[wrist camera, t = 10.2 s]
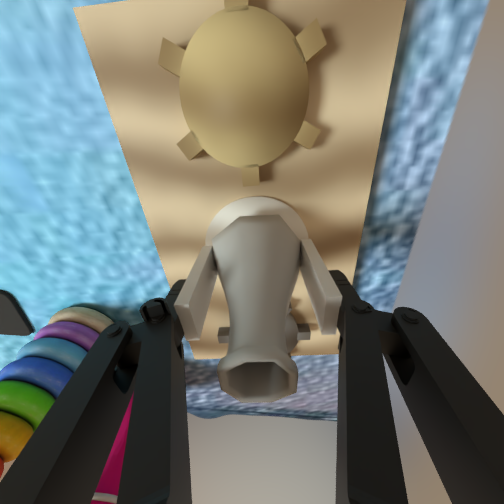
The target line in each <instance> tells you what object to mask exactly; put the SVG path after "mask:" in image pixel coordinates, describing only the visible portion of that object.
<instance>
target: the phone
mask: <svg viewBox="0 0 504 504" xmlns="http://www.w3.org/2000/svg"><path fill="white" fill-rule="evenodd" d="M32 332H33V328H32V327H31V325H30V323H29V322H28V320H27V318H26V317H25V315H24V313H23V312H22V310H21V309H20V307H19V305H18V304H17V302H16V301H15V299H14V298H13V297H12V295H10V294H9V293H7V292H5V291H3V290H0V334H4V335H20V336H27V335H30V334H31V333H32Z"/></svg>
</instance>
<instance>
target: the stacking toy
mask: <svg viewBox="0 0 504 504" xmlns="http://www.w3.org/2000/svg"><path fill="white" fill-rule="evenodd" d="M113 323H114V322H113V321H112V320H111V319H110V318H108V317H107V316H105V315H104V314H102V313H100V312H98V311H96V310H93V309H89V308H85V307H69V308H65V309H62V310H60V311H58V312H57V313H56V314H54V315H53V316H52V317H51V319H50V321H49V323H48V325H47V326H45V327H43V328H42V329H41V330H40V331H39V332H38V333H37V334H36V335H35V337H34V340H33V341H31V342H29V343H27V344H26V345H25V346H23V347H22V348H21V349H20V350H19V352H18V353H17V355H16V360H15V361H13V362H11V363H10V364H8V365H7V366H5V367H4V368H3V369H2V370H1V371H0V477H1V475H2V473H3V470H4V463H5V462H9V461H12V460H14V459H16V458H17V457H18V455H19V454H20V452H21V451H22V449H23V448H24V446H25V445H26V443H27V442H28V440H29V439H30V437H31V436H32V434H33V433H34V432H35V430H36V429H37V427H38V426H39V424H40V423H41V421H42V420H43V418H44V417H45V415H46V414H47V412H48V411H49V409H50V408H51V406H52V405H53V403H54V402H55V400H56V399H57V397H58V396H59V394H60V393H61V391H62V390H63V388H64V387H65V386H66V384H67V383H68V381H69V380H70V378H71V377H72V375H73V374H74V372H75V371H76V369H77V368H78V366H79V365H80V363H81V362H82V360H83V359H84V357H85V356H86V354H87V353H88V351H89V350H90V348H91V347H92V345H93V344H94V343H95V341H96V340H97V338H98V337H99V335H100V334H101V332H102V331H103V330H104V329H105V328H106V327H108V326H109V325H111V324H113Z"/></svg>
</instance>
